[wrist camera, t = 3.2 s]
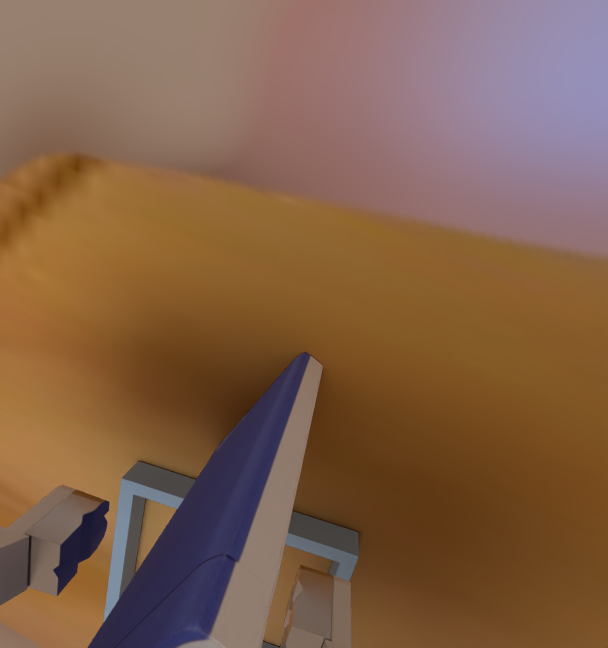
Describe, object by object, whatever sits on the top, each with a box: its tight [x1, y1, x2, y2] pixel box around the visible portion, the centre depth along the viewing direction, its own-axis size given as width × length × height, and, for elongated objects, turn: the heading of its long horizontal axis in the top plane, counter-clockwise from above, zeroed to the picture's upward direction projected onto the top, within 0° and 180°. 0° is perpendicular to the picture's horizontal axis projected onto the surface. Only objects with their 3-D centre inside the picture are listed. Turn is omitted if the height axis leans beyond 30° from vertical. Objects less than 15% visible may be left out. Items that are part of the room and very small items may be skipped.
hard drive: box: [88, 352, 323, 648], centre depth 12 cm, size 2×8×12 cm, turn 140°
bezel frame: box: [104, 461, 359, 648], centre depth 20 cm, size 14×12×2 cm
